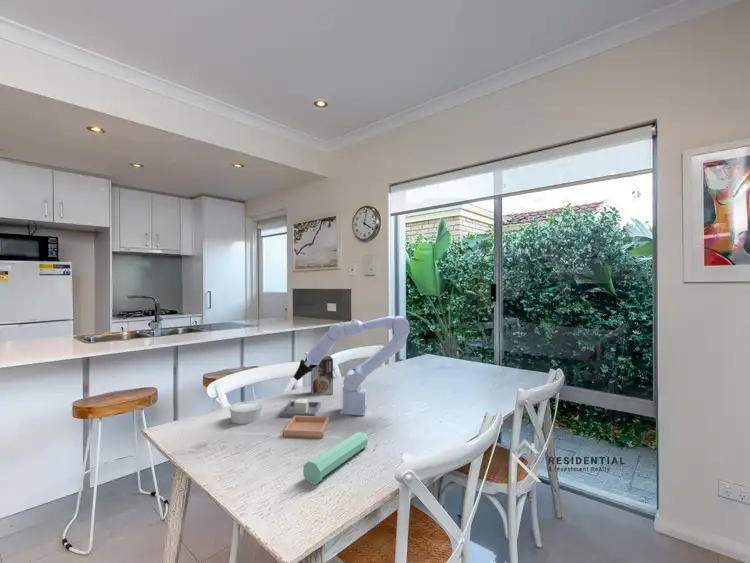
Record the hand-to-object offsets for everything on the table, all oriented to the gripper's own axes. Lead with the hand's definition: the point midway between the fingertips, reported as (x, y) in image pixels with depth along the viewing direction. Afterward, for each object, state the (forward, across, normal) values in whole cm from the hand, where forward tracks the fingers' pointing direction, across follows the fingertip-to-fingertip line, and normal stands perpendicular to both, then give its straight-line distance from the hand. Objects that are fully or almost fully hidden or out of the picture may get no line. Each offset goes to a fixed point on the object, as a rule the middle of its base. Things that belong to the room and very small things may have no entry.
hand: (298, 376), depth 140 cm
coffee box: (+6, -24, +12) cm, 27 cm away
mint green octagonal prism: (-1, +36, +27) cm, 45 cm away
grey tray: (+10, 0, +10) cm, 14 cm away
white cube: (+9, 0, +10) cm, 13 cm away
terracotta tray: (+6, +15, +15) cm, 22 cm away
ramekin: (+22, +9, -4) cm, 24 cm away
